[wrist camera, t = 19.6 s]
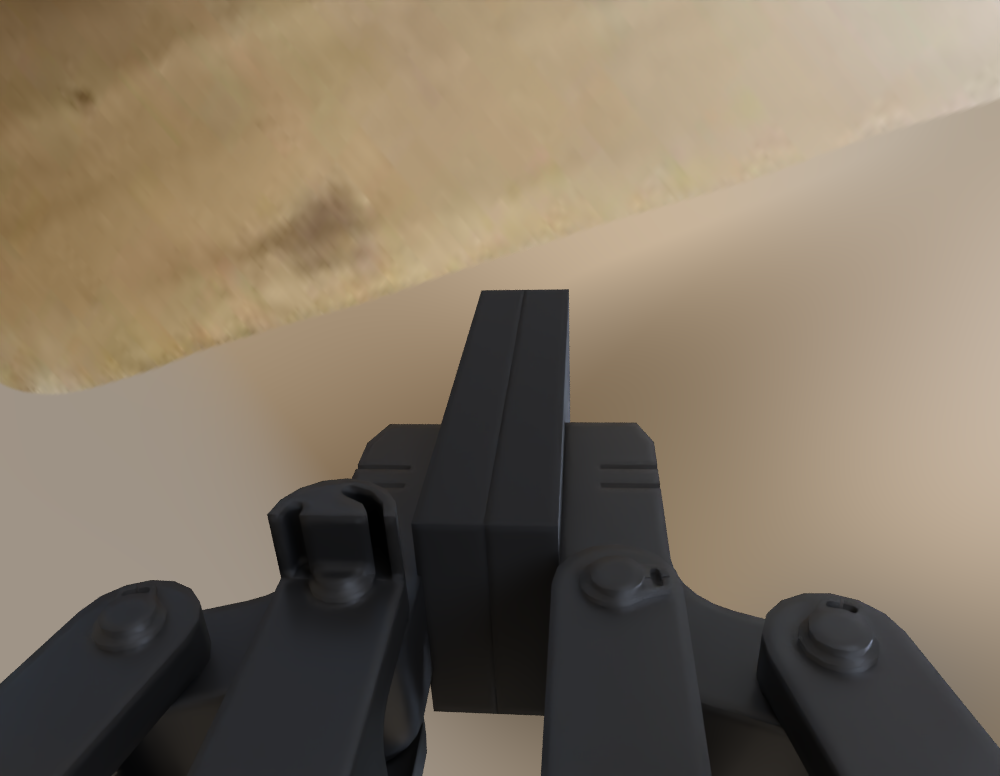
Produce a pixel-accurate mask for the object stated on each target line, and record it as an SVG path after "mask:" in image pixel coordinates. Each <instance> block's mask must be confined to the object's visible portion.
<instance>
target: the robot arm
mask: <svg viewBox="0 0 1000 776" xmlns="http://www.w3.org/2000/svg"><path fill="white" fill-rule="evenodd" d="M569 374H570V371H569V290H568V289H567V290H566V289H565V290H486V291H482V292H481V294H480V298H479V301H478V304H477V308H476V311H475V314H474V318H473V321H472V324H471V327H470V331H469V334H468V337H467V341H466V344H465V347H464V351H463V354H462V357H461V360H460V364H459V367H458V370H457V374H456V377H455V380H454V384H453V387H452V390H451V394H450V397H449V400H448V404H447V407H446V410H445V413H444V417H443V420H442V423H441V424H440V425H438V424H427V425H426V424H425V425H424V424H390V425H388V426H387V427H386V428H385V429H384V430H382V431H381V432H380V433H379V434H378V435H377V436H375V437H374V438H373V439H372V440H371V441H369V442H368V443H367V445H366V448H365V450H364V452H363V454H362V457H361V459H360V461H359V464H358V469H356V470H355V473H354V475H353V477H352V479H337V480H328V481H321V482H318V483H315V484H312V485H309V486H306V487H302V488H300V489H298V490H296V491H295V492H293V493H292V494H289V495H288V496H286V497H284V498H283V499H281V500H280V501H279V502H278V503H277V504H276V505H275V507H274V508H273V509H272V510H271V511H270V512H269V513H268V514H267V516H268V520H269V524H270V529H271V534H272V538H273V543H274V547H275V552H276V556H277V561H278V565H279V570H280V574H281V580H280V582H279V584H278V586H277V588H276V590H275V592H273V593H271V594H269V595H266V596H263V597H259V598H256V599H253V600H249V601H245V602H240V603H235V604H230V605H225V606H221V607H216V608H211V609H206V610H202V608H201V605H200V602H199V600H198V599H197V597H196V595H195V594H194V592H193V591H192V589H190V588H188V587H186V586H184V585H182V584H179V583H177V582H175V581H159V580H150V581H145V582H140V583H135V584H131V585H126V586H123V587H121V588H119V589H117V590H114V591H112V592H110V593H107V594H105V595H103V596H101V597H99V598H98V599H96V600H95V601H94V602H92V603H91V604H89V605H88V606H87V607H85V608H84V609H82V610H81V611H80V612H78V613H77V614H76V615H75V616H74V617H73V618H72V619H71V620H70V621H68V622H67V623H66V624H65V625H64V626H63V627H62V628H61V629H60V630H59V631H57V632H56V633H55V634H54V635H53V636H52V637H51V638H50V639H49V640H48V641H47V642H45V643H44V644H43V645H42V646H41V647H40V648H39V649H38V650H37V651H36V652H34V653H33V654H32V655H31V656H30V657H29V658H28V659H27V660H26V661H25V662H24V663H22V664H21V666H19V667H18V668H17V669H16V670H15V671H14V672H12V673H11V674H10V675H9V676H8V677H7V678H6V679H5V680H4V681H3V682H2V683H1V684H0V776H422V774H423V769H424V764H425V759H426V754H427V749H426V748H427V747H426V731H425V722H424V712H425V707H426V703H427V697H428V693H429V688H430V684H431V691H432V699H433V708H434V711H442V712H466V713H492V714H515V715H541V716H544V730H543V748H542V766H541V776H1000V748H999V747H998V746H997V744H996V743H995V742H994V741H993V740H992V738H991V737H990V736H989V735H988V733H987V732H986V731H985V730H984V728H983V727H982V726H981V725H980V723H978V721H977V720H976V719H975V717H974V716H973V715H972V714H971V712H970V711H969V710H968V709H967V707H966V706H965V705H964V704H963V703H962V701H961V700H960V699H959V698H958V696H957V695H956V694H955V693H954V692H953V690H952V689H951V688H950V687H949V685H948V684H947V683H946V682H945V680H944V679H943V678H942V677H941V675H940V674H939V673H938V672H937V670H936V669H935V668H934V667H933V665H932V664H931V663H930V662H929V661H928V659H927V658H926V657H925V656H924V654H923V653H922V652H921V651H920V650H919V648H918V647H917V646H916V645H915V643H914V642H913V641H912V640H911V638H910V637H909V636H908V635H907V634H906V632H905V631H904V630H903V629H901V628H900V627H899V626H898V625H897V624H896V623H895V622H894V621H893V620H891V619H890V618H889V617H888V616H887V615H886V614H884V613H882V612H881V611H879V610H877V609H875V608H873V607H871V606H869V605H867V604H865V603H863V602H861V601H859V600H855V599H851V598H847V597H843V596H839V595H835V594H831V593H828V594H827V593H825V594H824V593H815V594H814V593H808V594H807V593H804V594H801V595H797V596H794V597H791V598H788V599H785V600H782V601H780V602H779V603H778V604H777V605H776V606H775V607H774V608H773V609H771V610H770V611H769V612H768V613H767V615H766V619H763V618H759V617H755V616H751V615H747V614H744V613H739V612H736V611H733V610H730V609H727V608H723V607H721V606H718V605H715V604H713V603H711V602H709V601H708V600H706V599H704V598H702V597H700V596H699V595H697V594H695V593H694V592H693V591H692V590H691V589H690V588H688V587H687V586H686V585H685V584H684V583H683V582H682V581H681V579H680V578H679V577H678V575H677V572H676V570H675V569H674V568H673V565H672V562H671V559H670V551H669V544H668V538H667V532H666V531H667V530H666V523H665V516H664V509H663V503H662V496H661V489H660V481H659V474H658V469H657V460H656V454H655V446H654V442H653V441H652V440H651V439H650V437H648V435H647V434H646V433H645V432H644V431H643V430H642V429H641V428H640V426H639V425H638V424H637V423H575V422H571V423H570V376H569Z"/></svg>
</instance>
